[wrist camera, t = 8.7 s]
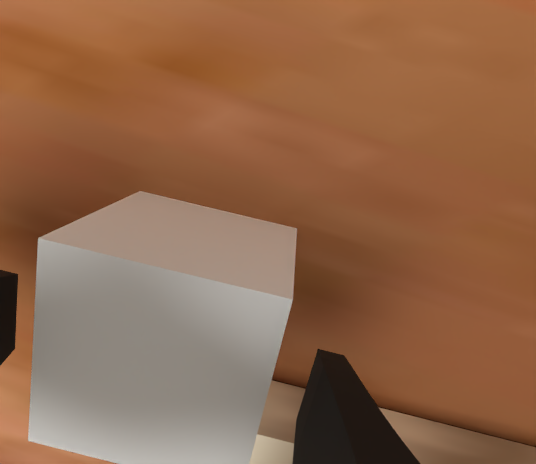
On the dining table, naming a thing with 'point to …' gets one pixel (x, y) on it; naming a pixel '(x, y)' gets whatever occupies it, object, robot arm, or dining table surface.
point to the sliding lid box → (406, 426)
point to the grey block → (158, 331)
